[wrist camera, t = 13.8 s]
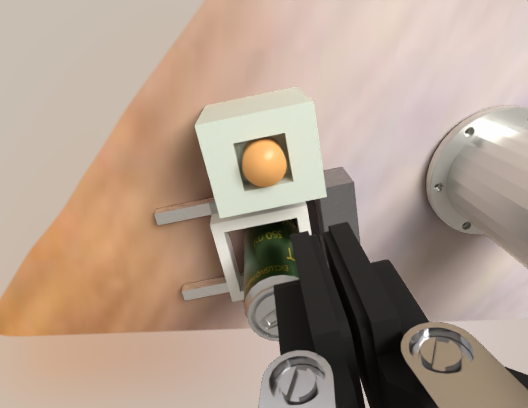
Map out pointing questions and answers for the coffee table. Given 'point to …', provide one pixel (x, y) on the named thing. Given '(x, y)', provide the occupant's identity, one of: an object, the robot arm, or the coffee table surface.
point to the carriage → (244, 221)
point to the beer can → (267, 272)
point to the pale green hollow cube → (253, 127)
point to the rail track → (328, 213)
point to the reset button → (263, 161)
